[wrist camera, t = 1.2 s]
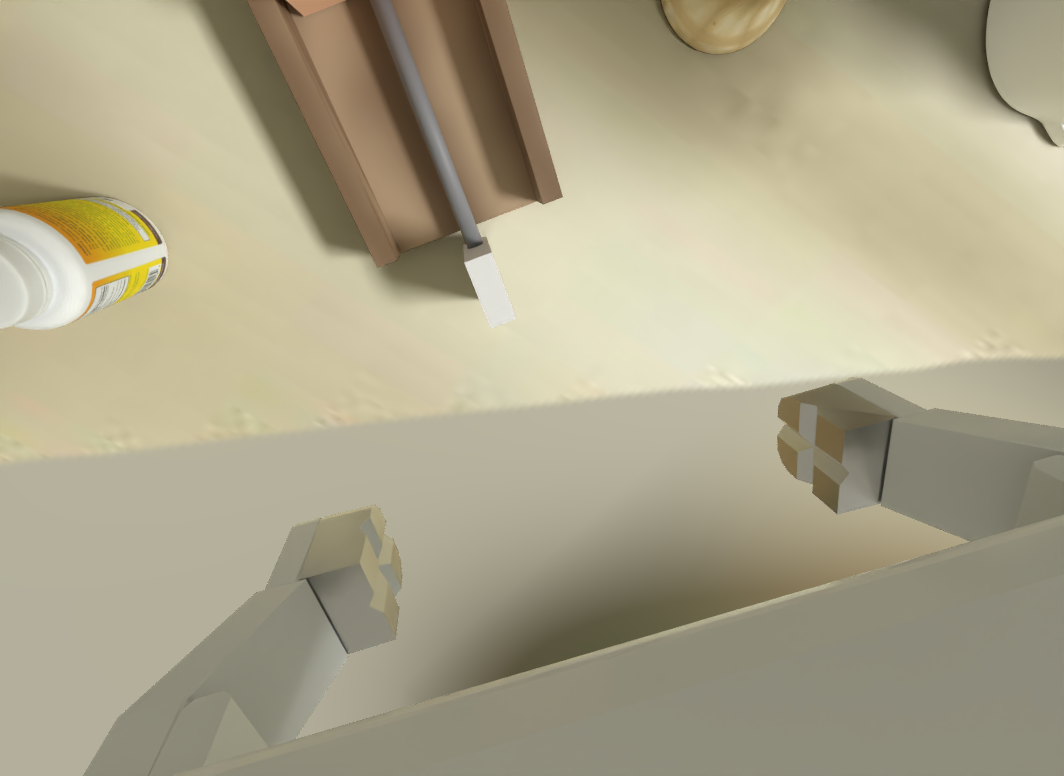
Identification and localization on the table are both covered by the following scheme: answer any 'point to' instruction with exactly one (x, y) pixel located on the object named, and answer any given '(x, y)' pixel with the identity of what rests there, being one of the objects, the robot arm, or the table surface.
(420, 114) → the pull block
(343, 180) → the shelf lane
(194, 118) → the table surface
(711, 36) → the hand bell
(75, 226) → the supplement bottle
